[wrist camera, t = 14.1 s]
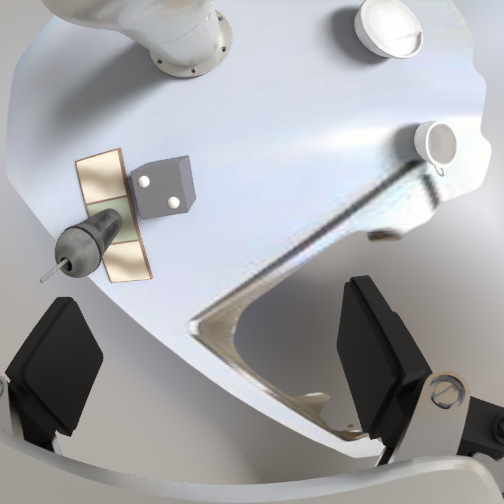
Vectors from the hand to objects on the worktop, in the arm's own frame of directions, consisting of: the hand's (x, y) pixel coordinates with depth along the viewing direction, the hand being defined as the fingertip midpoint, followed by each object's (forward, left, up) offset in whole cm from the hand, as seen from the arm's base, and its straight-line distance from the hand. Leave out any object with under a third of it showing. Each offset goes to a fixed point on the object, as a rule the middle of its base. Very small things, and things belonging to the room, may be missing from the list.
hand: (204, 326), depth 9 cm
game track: (+7, -22, -36) cm, 43 cm away
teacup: (-1, +34, -36) cm, 50 cm away
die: (+2, -10, -36) cm, 38 cm away
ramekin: (-21, +26, -37) cm, 49 cm away
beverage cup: (+7, -22, -35) cm, 42 cm away
